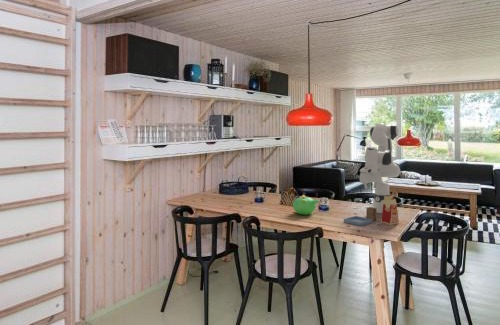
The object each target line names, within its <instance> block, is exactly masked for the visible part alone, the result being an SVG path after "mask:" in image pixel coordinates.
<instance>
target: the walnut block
mask: <svg viewBox="0 0 500 325" xmlns="http://www.w3.org/2000/svg"><path fill="white" fill-rule="evenodd" d="M365 212H366V215H365V218H368V219H372V222H376V221H377V213H376V212H377V208H373V207H372V206H369V207H366V210H365Z"/></svg>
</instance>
